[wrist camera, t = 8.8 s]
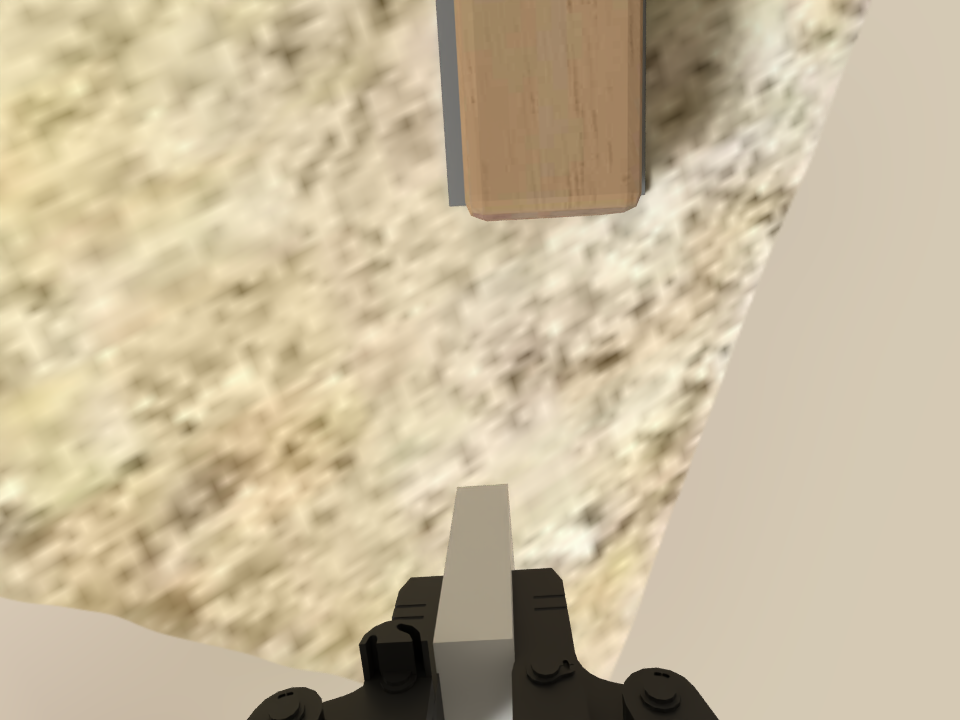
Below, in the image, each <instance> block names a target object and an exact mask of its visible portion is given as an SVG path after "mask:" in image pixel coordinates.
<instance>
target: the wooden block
mask: <svg viewBox="0 0 960 720" xmlns="http://www.w3.org/2000/svg"><path fill="white" fill-rule="evenodd" d="M454 12H455V29H456V47H457V65H458V83H459V100H460V118H461V136H462V154H463V171H464V189H465V203H466V206H467V208H468V210H469V212H470V214H471V216H474V217H477V218H479V219H482V220H485V221H499V220H517V219H535V218H554V217H572V216H590V215H604V214H613V213H622V212H625V211H627V210H630V209H632V208H634V207H636V206H637V203H638V201H639V198H640V196H641V193H642V69H643V0H454Z"/></svg>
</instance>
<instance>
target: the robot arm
mask: <svg viewBox="0 0 960 720" xmlns="http://www.w3.org/2000/svg"><path fill="white" fill-rule="evenodd" d="M359 648H360V654H361V661H362V667H363V673H364V680H365V681H364V685H363V686H362V687H361V688H359V689H357V690H356V691H354V692H352V693H350V694H347V695H345V696H342V697H339V698H336V699H332V700H329V701H326V702H323V703H322V699H321V697H320V696H319V695H318V694H317V692H316V691H314V690H311V689H308V688H306V687H295V688H294V687H293V688H289V689H286V690H283V691H279V692H277V693H275V694H274V695H272V696H270V697H269V698H267V699H265V700H264V701H263V702H262V703H261V704H260V705H259V706H258V707H257V708H256V709H255V710H254V711H253V713H252V714H251V715H250V717H249V718H248V719H247V720H718V718H717V717H716V715H715V714H714V713H713V711H712V710H711V709H710V707H709V706H708V705H707V703H706V702H705V701H704V699H703V698H702V697H701V695H700V694H699V692H698V691H697V690H696V689H695V687H694V686H693V685H692V684H691V683H690V682H689V681H688V680H687V679H685V678H684V677H683V676H681V675H679V674H677V673H675V672H673V671H671V670H666V669H661V668H647V669H641V670H639V671H637V672H634V673H632V674H631V675H630V676H629V677H628V678H627V679H626V681H625V682H624V684H619V683H614V682H610V681H607V680H603V679H600V678H598V677H596V676H594V675H592V674H590V673H589V672H588V671H587V670H586V669H584V668H583V667H582V665H581V664H580V663H579V661H578V660H577V657H576V654H575V650H574V644H573V638H572V632H571V627H570V621H569V615H568V610H567V604H566V598H565V592H564V587H563V581H562V579H561V578H560V577H559V576H558V575H557V573H556V572H555V571H554V570H553V569H552V568H543V569H526V570H515V569H514V555H513V543H512V531H511V519H510V506H509V494H508V484H500V485H485V486H469V487H457V492H456V499H455V505H454V511H453V518H452V524H451V531H450V537H449V543H448V550H447V556H446V563H445V569H444V575H443V576H431V577H414V578H410V579H409V580H408V581H407V583H406V584H405V585H404V586H403V587H402V588H401V589H400V591H399V593H398V597H397V601H396V604H395V608H394V612H393V616H392V621H387V622H384V623H382V624H380V625H378V626H375V627H374V628H372V629H371V630H370V631H369V632H368V633H366V634H365V635H364V637H363V638H362V640H361V642H360V643H359Z"/></svg>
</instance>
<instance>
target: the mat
mask: <svg viewBox="0 0 960 720" xmlns="http://www.w3.org/2000/svg"><path fill="white" fill-rule="evenodd" d="M436 11H437V26H438V41H439V56H440V72H441V87H442V102H443V117H444V132H445V148H446V163H447V178H448V193H449V206H466V203H465V189H464V171H463V154H462V136H461V118H460V100H459V83H458V65H457V47H456V29H455V12H454V0H436ZM645 103H646V0H643V69H642V193H641V195H645Z"/></svg>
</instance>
